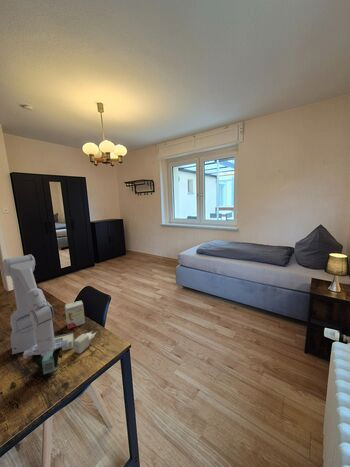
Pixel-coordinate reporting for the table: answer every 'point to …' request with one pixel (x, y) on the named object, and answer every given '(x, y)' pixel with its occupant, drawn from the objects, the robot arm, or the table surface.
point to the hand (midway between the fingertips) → (49, 367)
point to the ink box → (74, 314)
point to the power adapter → (83, 342)
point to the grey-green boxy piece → (48, 363)
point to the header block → (66, 337)
